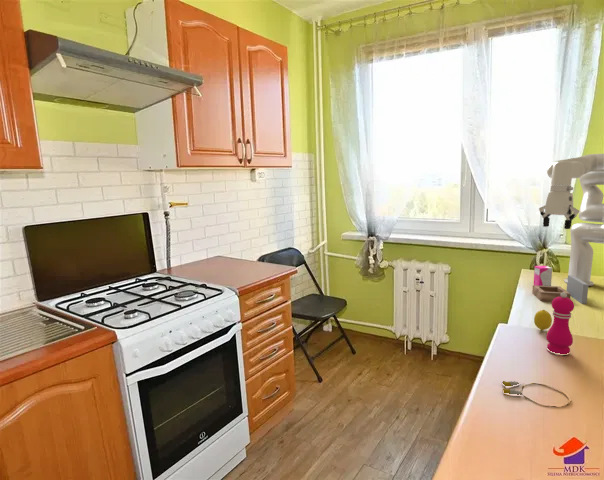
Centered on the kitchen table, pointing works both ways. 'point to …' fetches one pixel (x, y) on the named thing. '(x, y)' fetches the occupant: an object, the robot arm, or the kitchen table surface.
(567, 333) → the pepper mill
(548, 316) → the lemon
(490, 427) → the kitchen table surface
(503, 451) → the kitchen table surface
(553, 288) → the socket block
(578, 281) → the backstop wall
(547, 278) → the supplement box
